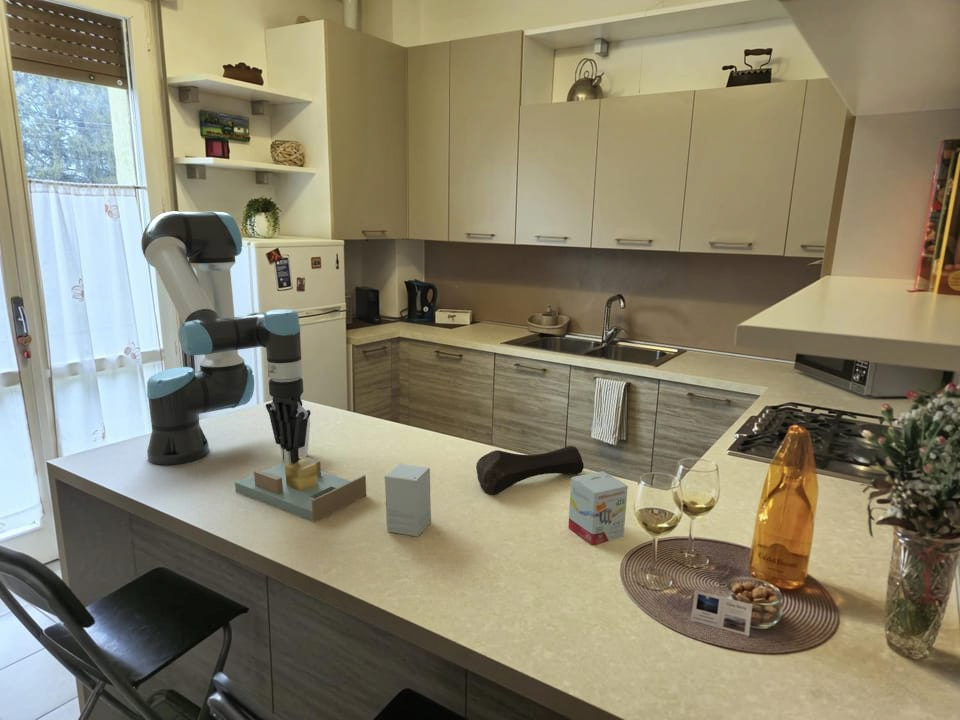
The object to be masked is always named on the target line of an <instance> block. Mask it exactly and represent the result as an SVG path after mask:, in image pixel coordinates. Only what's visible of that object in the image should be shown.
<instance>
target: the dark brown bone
mask: <svg viewBox="0 0 960 720" xmlns="http://www.w3.org/2000/svg"><path fill="white" fill-rule="evenodd" d="M584 466H585V464H584V462H583V458H582V455H581V453H580V451H579V450H578V448H577V447H576V446H573V445H568V446H565V447H562V448H559V449H555V450H553V451H548V452H544V453H537V454H519V453H514V452H508V451H503V450H496V449H495V450H493V451H490V452H489V453H487V454H484V455H482V456H481V457H480V458H479V459H478V460H477V462H476V465H475V469H476V474H477V480H478V483H479V486H480V489H481V490H482V491H483V492H484V493H486V494H487V495H489V496H497V495H499V494H501V493H502V492H503V491H505V490H507V489H509V488H510V487H512V486H513V485H515V484H518V483H519V482H521V481H524V480H526V479H530V478H533V477H536V476H543V475H549V474H559V475H560V474H561V475H565V474H566V475H575V476H578V475H579V474H581V473H582V472H583V470H584V469H585V468H584Z"/></svg>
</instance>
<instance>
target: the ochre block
mask: <svg viewBox="0 0 960 720" xmlns="http://www.w3.org/2000/svg"><path fill="white" fill-rule="evenodd" d="M285 470H286V485H287V486H288V487H291V488H294V489H297V490H299V491H302V490H305V489H307V488H309V487H311V486H313V485H316V484H318V481H317V464H316V463H312V462H309V461H306V460H303V459H301V460H299V461H298V462H296V463H291V464H289V465H286V466H285Z"/></svg>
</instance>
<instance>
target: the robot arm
mask: <svg viewBox="0 0 960 720" xmlns="http://www.w3.org/2000/svg"><path fill="white" fill-rule="evenodd" d="M240 230H241V229H240V228H239V225H238V222H237V221H236V220H235V219H234V217H233V216H232V215H230V214H229V213H227V212H221V211H220V212H219V211H212V210H211V211H168V212H164V213H161V214H159V215H157V216H156V217H154V218H152V220H151V221H149V223H148V224H147V225H146V227H145V228H144V230H143V233H142V237H141V244H140V245H141V250H142V253H143V256H144V258H145V260H146V262H147V263H148V264H149V265H150V266H152V267H153V268H154V269H155V270H156V272H157V275H159V278H160V280H161V282H162V284H163V286H164V288H165V290H166V292H167V294H168V296H169V298H170V300H171V302H172V303H173V306H174V307H175V310H176V312H177V314H178V315H179V317H180V320H181V322H182V323H181V324H180V325H179V327H178V340H179V343H180V346H181V347H180V348H181V350H182V351H183V353H184V354H185V355H188V356H204V358H203V359H202V360H201V361H200V363H199V369H200V370H198V371H195V369H194V368H193V367H190V366H182V367H172V368H168V369H165V370H161V371H158V372H156V373H154V374H153V375H151V376H150V377H149V378H148V380H147V382H146V389H147V391H146V392H147V394H146V396H147V400H148V409H149V416H150V417H149V418H150V424H151V434H150V438H149V442H148V445H147V451H146V453H147V460H148V461H149V462H150V463H152V464H155V465H165V466H166V465H167V466H169V465H178V464H179V465H180V464H184V463H185V464H186V463H189V462H193V461H195V460H199V459H201V458H203V457H204V456H206V455H207V454H208V453H209V452H210V448H209V447H210V445H209V442H208V439H207V437H206V435H205V433H204V432H203V428H202V427H201V425H200V415H201V414H206V413H210V412H211V413H212V412H217V411H222V410H226V409H235V408H237V407H241V406H245V405H246V404H248V403H249V402H250V401H251V399H252V398H253V396H254V392H255V391H254V390H255V375H254V374H253V372H254V371H253V369H252V367H251V366H250V365H249V364H247V363H245V362H246V361H245V359H244V358H243V357H242V356H241V355H240V354H239V350H245V349H247V350H248V349H253V348H254V349H255V348H262V347H263V348H265V351H266V361H267V374H268V375H267V376H268V378H269V380H268V391H269V392H268V393H269V395H270V397H272V401H271V402H269V403H266V404H265V408H266V410H267V412H268V415H269V419H270V423H271V424H270V425H271V428H272V429H271V430H272V432H273V437H274V440H275V441H274V442H275V444H276V445H279V444H280V445H281V448H283V458H282V459H283V461H284V462H283V463H285V466H286V465H289V464H291V463H296V462H298V461H299V453H298V449H299V448H301V447H304V446H305V439H306V431H307V423H308V418H310V416H311V410H309V409H305V407H304V406H303V401H302V399H301V396H302V394H303V393H304V379H303V378H302V376H303V374H304V371H303V359H302V344H301V343H302V342H301V323H300V318H299V313H298V312H297V311H296V310H293V309H271V310H267V311H266V312H252V313H249V314H247V315H242V316H235V307H234V294H233V285H232V274H231V269H232V267H233V266H234V265H235V264H236V257H237V256H239V255H241V253H242V250H243V249H242V248H243V238H242V234H241V231H240ZM279 437H280V438H279ZM280 445H279V446H280ZM285 475H286V470H285Z"/></svg>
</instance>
